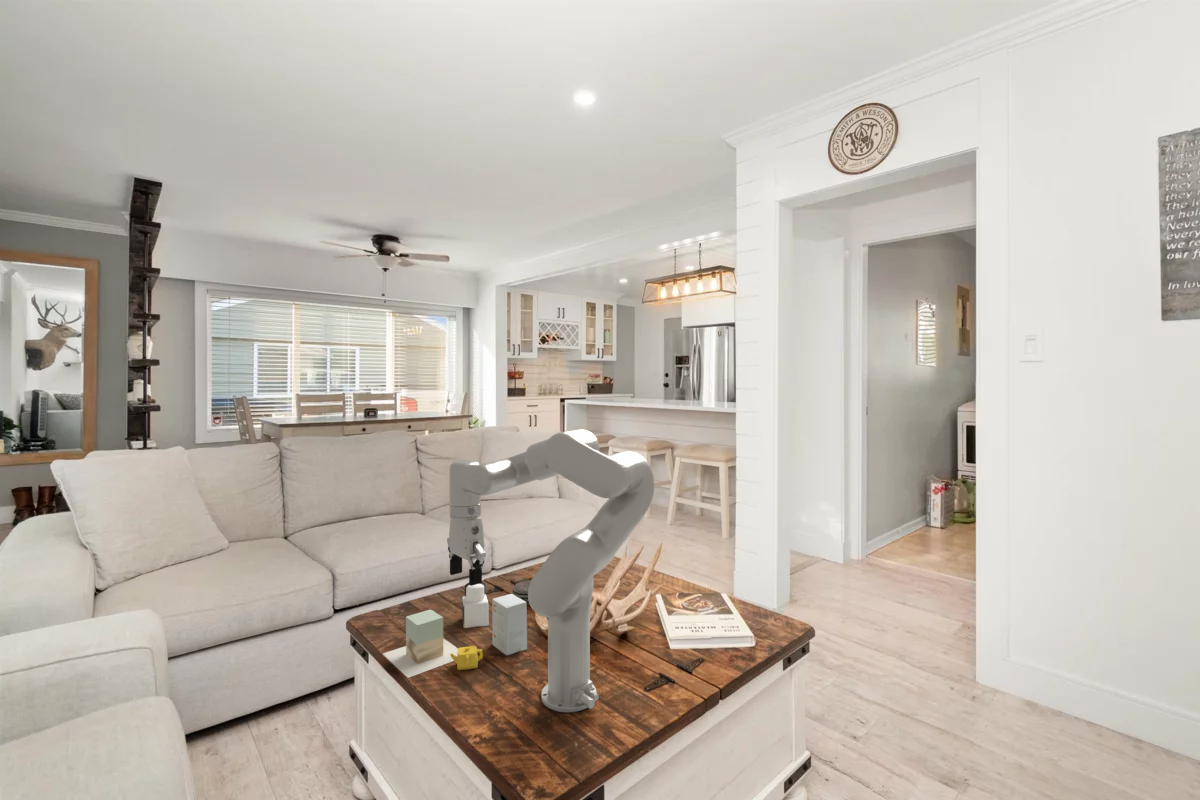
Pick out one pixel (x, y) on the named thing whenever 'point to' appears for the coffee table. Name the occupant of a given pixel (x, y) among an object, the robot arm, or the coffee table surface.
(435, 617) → the tower top
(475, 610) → the medicine bottle
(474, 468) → the robot arm
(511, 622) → the small box
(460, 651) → the teapot
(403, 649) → the felt pad
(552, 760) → the coffee table surface
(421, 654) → the tower bottom
